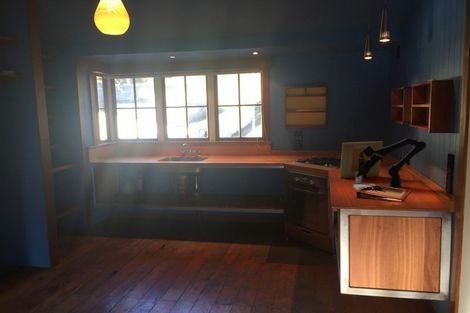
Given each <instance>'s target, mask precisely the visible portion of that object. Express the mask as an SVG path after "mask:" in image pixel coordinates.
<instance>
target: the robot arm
mask: <svg viewBox="0 0 470 313" xmlns="http://www.w3.org/2000/svg"><path fill="white" fill-rule="evenodd" d="M407 145H411V146H413V147H412V149H411V150H410V151H408V153H407V154H406V155H405V156H404V157H402V158H401V159H400V160H399V161H398V162H397V163H395V164H394V163H392V165H391V166H389V167H388V171H387V172H388V175H389V176H390V178H389V185H388V186H389V187H392V188H402V187H403V186H402V185H401V184H402V178H401V175H400V173H399V172H400V170H401V169H402V168H403V167H404V166H405V165H406V163H408V162H410V160H411V159H412V158H414V156H416V154H418V153H420V152H422V151H423V150H424V149H426V147H427V143H426V142H425V141H423V140H417V139H412V138H410V137H406V138H405V139H402V140H401V141H399V142H396V143H393V144H391V145H388V146H382V148H380V149H379V150H374V149H373V148H372V147H371V146H370V145H369V146H368V147H367V148H365V149H364V150H363V151H362V152H363V153H364V154H365V155H366V156H372V155H373V154H374V155H373V156H372V157H371V158H370V159H368V160H365V159H364V158H361V157H359V159H358V162H360V163H363V164H362V166H361V167H360V170H359V173H358V174H357V175H356V177H359V176H362V175H364V174H367V173H369V170H370V169H371V168H372V167H373V166H374V165H375V164H376V163H377V162H378V161H379V160H381V162H383V161H384V160H383V159H384V157H385V156H387V155H388V154H390V153H391V152H393V151H395V150H398V149H400V148H402V147H404V146H407ZM374 152H375V153H376V154H379V155H380V156H381V157H380V156H379V155H376V154H375V153H374Z"/></svg>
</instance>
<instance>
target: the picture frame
mask: <svg viewBox="0 0 470 313" xmlns="http://www.w3.org/2000/svg"><path fill="white" fill-rule="evenodd" d="M383 144H384V141H383V140H382V141H379V140H378V141H377V140H376V141H357V142H355V141H353V142H342V145H341V155H340V157H341V158H340V166H339V167H340V171H339V178H340V179H345V178H347V179H348V178H349V179H350V178H355V172H359V170H360V167H361V166H362V164H363V163H360V162H358V159H359V157H361V158H364V159H365V160H368V159H370V158H371V157H372V156H373V155H374V154H373V155H372V156H366V155H365V154H364V153H363V152H362V151H363V150H364V149H365V148H367V147H368V146H369V145H370V146H371V147H372V148H373V149H374V150H379V149H380V148H383V147H384V146H383ZM374 153H375V152H374ZM375 154H376V153H375ZM376 155H379V154H376ZM379 156H380V155H379ZM380 157H382V156H380ZM381 162H382V161H381V160H379V161H378V162H377V163H376V164H375V165H374V166H373V167H372V168H371V169H370V170H369V173H367V174H364V175H362V180H364V179H365V180H366V179H367V178H370V177H372V178H373V177H379V176H380V170H381Z"/></svg>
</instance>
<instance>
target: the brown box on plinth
mask: <svg viewBox="0 0 470 313" xmlns="http://www.w3.org/2000/svg"><path fill="white" fill-rule="evenodd" d="M358 173H359V172H355V177H354V184H353V186H354V185H355V184H363V179H362V176H359V177H356V175H357V174H358Z"/></svg>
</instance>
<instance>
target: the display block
mask: <svg viewBox="0 0 470 313" xmlns="http://www.w3.org/2000/svg"><path fill="white" fill-rule="evenodd" d="M354 184H355V183H354ZM354 184H353V188H354V189H356V190H357V191H362V190H361V189H363V188H367V187H370V186H374V185H375V184H374V183H362V184H355V185H354Z"/></svg>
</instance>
